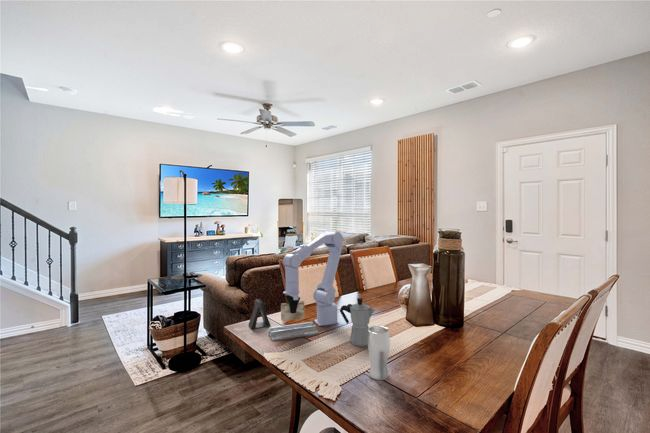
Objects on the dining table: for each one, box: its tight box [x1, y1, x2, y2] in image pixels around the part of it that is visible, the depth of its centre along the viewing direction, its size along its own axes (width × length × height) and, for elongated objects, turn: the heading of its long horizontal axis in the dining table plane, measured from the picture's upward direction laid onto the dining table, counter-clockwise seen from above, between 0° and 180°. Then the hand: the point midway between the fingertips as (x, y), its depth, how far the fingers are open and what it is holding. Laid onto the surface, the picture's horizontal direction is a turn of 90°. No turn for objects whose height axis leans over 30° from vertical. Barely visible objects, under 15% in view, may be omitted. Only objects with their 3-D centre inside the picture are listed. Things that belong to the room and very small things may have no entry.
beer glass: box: [367, 325, 390, 381], centre depth 98 cm, size 7×7×15 cm
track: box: [268, 321, 319, 342], centre depth 132 cm, size 20×10×3 cm, turn 109°
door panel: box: [280, 300, 306, 322], centre depth 132 cm, size 10×2×7 cm, turn 109°
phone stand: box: [248, 298, 272, 330], centre depth 141 cm, size 9×6×12 cm, turn 116°
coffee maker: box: [339, 297, 376, 348], centre depth 122 cm, size 15×9×18 cm, turn 71°
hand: (292, 311), depth 132 cm, fingers closed on door panel, 2 cm apart
